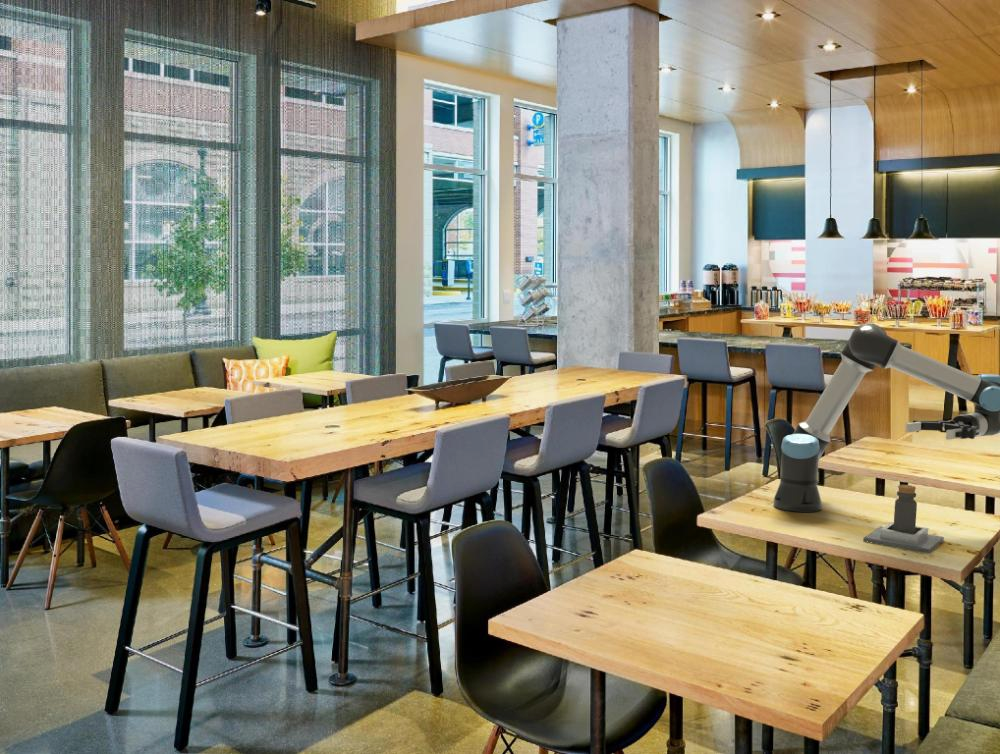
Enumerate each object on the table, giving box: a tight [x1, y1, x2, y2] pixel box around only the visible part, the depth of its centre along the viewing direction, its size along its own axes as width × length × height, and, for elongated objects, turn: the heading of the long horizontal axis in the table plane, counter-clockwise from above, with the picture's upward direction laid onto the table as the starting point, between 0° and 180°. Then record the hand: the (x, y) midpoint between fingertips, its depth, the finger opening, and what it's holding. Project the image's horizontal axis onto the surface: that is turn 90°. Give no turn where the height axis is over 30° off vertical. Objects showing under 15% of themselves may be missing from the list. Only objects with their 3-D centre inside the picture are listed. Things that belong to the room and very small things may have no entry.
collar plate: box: [862, 521, 945, 554], centre depth 284 cm, size 18×16×4 cm
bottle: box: [893, 484, 918, 534], centre depth 283 cm, size 6×6×15 cm
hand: (926, 431), depth 295 cm, fingers open, 13 cm apart
